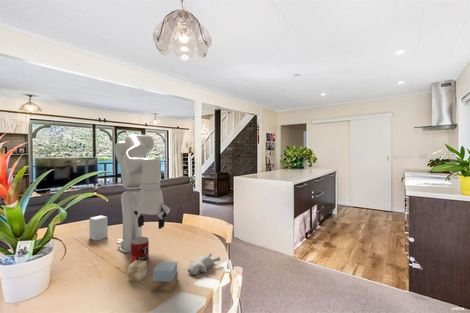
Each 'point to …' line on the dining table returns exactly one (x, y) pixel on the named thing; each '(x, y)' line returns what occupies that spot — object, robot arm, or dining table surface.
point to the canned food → (140, 249)
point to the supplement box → (98, 227)
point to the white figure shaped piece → (202, 264)
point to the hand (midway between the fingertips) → (151, 226)
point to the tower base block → (164, 285)
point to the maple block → (137, 270)
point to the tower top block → (165, 271)
